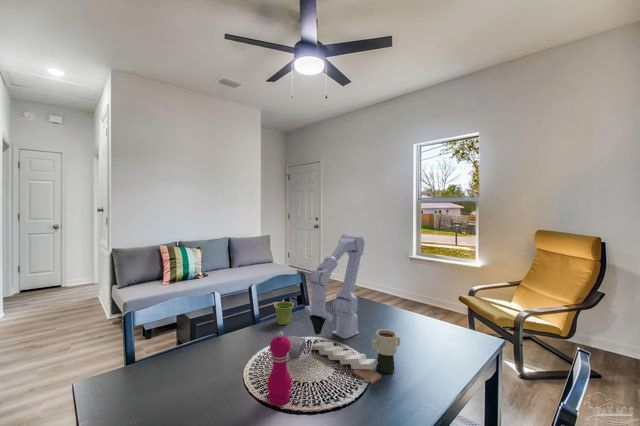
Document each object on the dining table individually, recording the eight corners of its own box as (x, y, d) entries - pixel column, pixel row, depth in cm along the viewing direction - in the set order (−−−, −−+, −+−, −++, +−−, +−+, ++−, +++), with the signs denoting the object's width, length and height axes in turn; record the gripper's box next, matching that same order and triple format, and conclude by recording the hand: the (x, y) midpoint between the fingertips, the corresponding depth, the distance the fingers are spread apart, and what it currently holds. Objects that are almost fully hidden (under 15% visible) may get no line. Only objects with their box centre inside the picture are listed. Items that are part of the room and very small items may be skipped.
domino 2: (328, 346, 117) (342, 346, 112) (328, 350, 117) (343, 351, 111) (318, 350, 114) (332, 350, 108) (319, 354, 113) (333, 355, 108)
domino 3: (336, 350, 114) (352, 350, 109) (337, 355, 113) (353, 355, 108) (328, 355, 110) (343, 355, 105) (329, 359, 110) (345, 359, 105)
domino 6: (362, 365, 105) (381, 374, 99) (362, 369, 105) (381, 379, 99) (353, 370, 102) (372, 380, 96) (353, 375, 102) (372, 385, 96)
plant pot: (297, 321, 144) (297, 304, 144) (284, 328, 136) (285, 309, 136) (282, 317, 149) (282, 300, 149) (269, 323, 141) (269, 305, 141)
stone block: (275, 361, 112) (300, 359, 110) (272, 348, 112) (298, 346, 110) (284, 347, 123) (307, 345, 122) (282, 336, 123) (305, 333, 122)
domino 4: (347, 355, 111) (365, 353, 106) (348, 359, 110) (366, 358, 106) (339, 359, 107) (358, 358, 102) (340, 364, 106) (359, 363, 102)
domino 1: (320, 341, 121) (333, 342, 115) (321, 345, 120) (334, 346, 115) (310, 345, 118) (323, 345, 112) (311, 349, 117) (324, 350, 111)
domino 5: (357, 359, 108) (377, 358, 103) (358, 363, 107) (378, 363, 103) (350, 364, 104) (370, 364, 99) (351, 369, 103) (371, 369, 99)
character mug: (393, 362, 109) (394, 327, 109) (404, 373, 102) (405, 335, 102) (366, 366, 106) (367, 330, 105) (376, 378, 99) (377, 339, 99)
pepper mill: (267, 391, 91) (269, 326, 90) (291, 390, 91) (292, 326, 91) (265, 407, 84) (266, 337, 83) (291, 406, 84) (292, 337, 84)
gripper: (299, 297, 121) (298, 330, 121) (323, 306, 110) (322, 343, 110) (312, 293, 125) (311, 325, 126) (337, 302, 115) (336, 337, 115)
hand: (317, 333), depth 118 cm, fingers closed
